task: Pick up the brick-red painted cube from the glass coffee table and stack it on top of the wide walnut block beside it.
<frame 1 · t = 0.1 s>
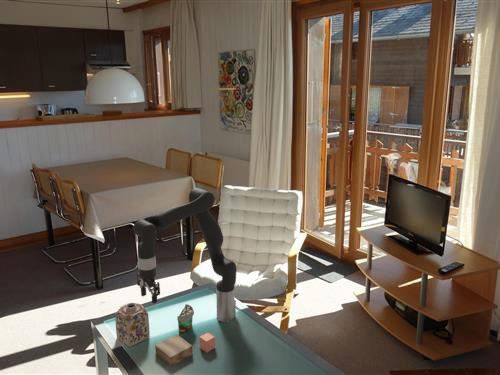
hand: (149, 299, 196), 29 cm above the table, tool pointing down, fingers open, 8 cm apart
walnut block: (174, 354, 205), on the table
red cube: (207, 347, 210), on the table
decorative jar: (133, 338, 217), on the table
food container: (187, 328, 225), on the table
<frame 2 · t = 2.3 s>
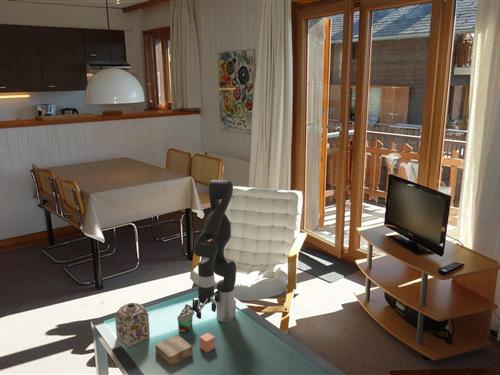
hand: (206, 314, 205), 18 cm above the table, tool pointing down, fingers open, 8 cm apart
nothing on the table moved.
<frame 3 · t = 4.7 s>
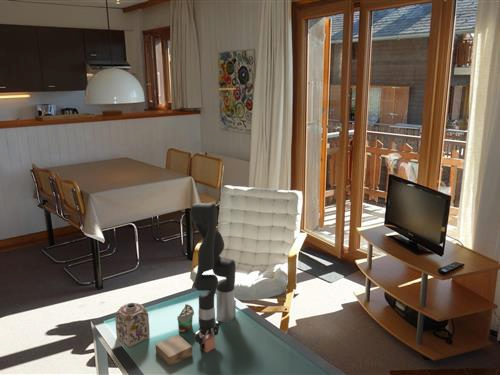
hand: (207, 346, 210), 1 cm above the table, tool pointing down, fingers closed on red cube, 5 cm apart
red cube: (207, 347, 210), on the table, touching gripper
everything else where it was.
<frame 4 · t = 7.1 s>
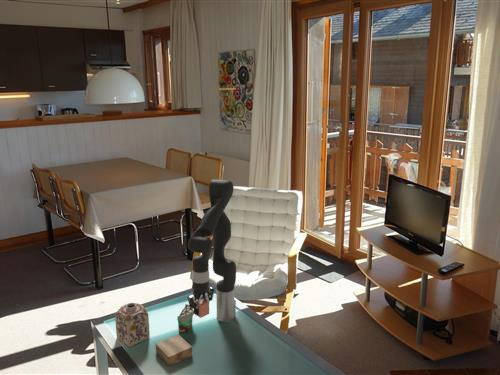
hand: (201, 312, 203), 20 cm above the table, tool pointing down, fingers closed on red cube, 5 cm apart
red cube: (201, 313, 204), point 19 cm above the table, touching gripper
everything else where it was.
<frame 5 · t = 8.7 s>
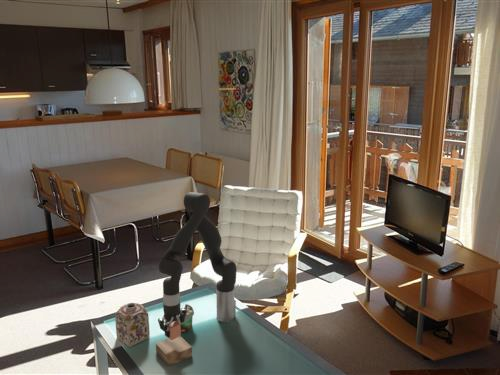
hand: (172, 334, 202), 11 cm above the table, tool pointing down, fingers closed on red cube, 5 cm apart
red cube: (173, 335, 202), point 10 cm above the table, touching gripper
everything else where it was.
when the fingers open (7 cm above the table, at t = 9.8 s): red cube drops 2 cm, resting on walnut block.
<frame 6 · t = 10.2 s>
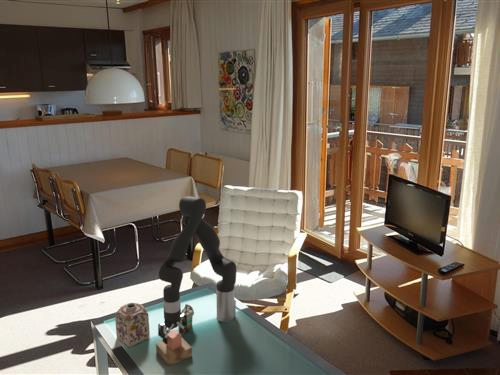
hand: (173, 339, 203), 8 cm above the table, tool pointing down, fingers open, 8 cm apart
walnut block: (174, 354, 205), on the table, touching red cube
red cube: (174, 345, 204), point 5 cm above the table, touching walnut block
everything else where it was.
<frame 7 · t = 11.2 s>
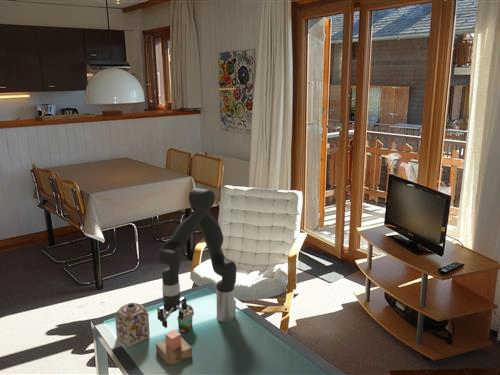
hand: (173, 323, 201), 16 cm above the table, tool pointing down, fingers open, 8 cm apart
walnut block: (174, 354, 205), on the table
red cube: (173, 345, 204), point 5 cm above the table
everything else where it was.
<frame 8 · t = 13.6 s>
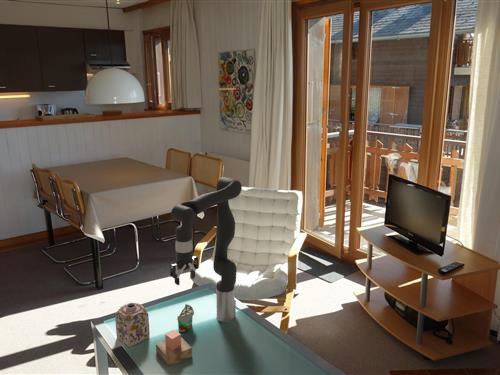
hand: (185, 281, 203), 33 cm above the table, tool pointing down, fingers open, 8 cm apart
walnut block: (174, 355, 205), on the table, touching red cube
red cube: (173, 345, 204), point 5 cm above the table, touching walnut block
everything else where it was.
at the end: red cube 0.1 cm off-centre on the walnut block, point 5.0 cm above the walnut block's base; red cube tilted 0°; the gripper is holding nothing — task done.
